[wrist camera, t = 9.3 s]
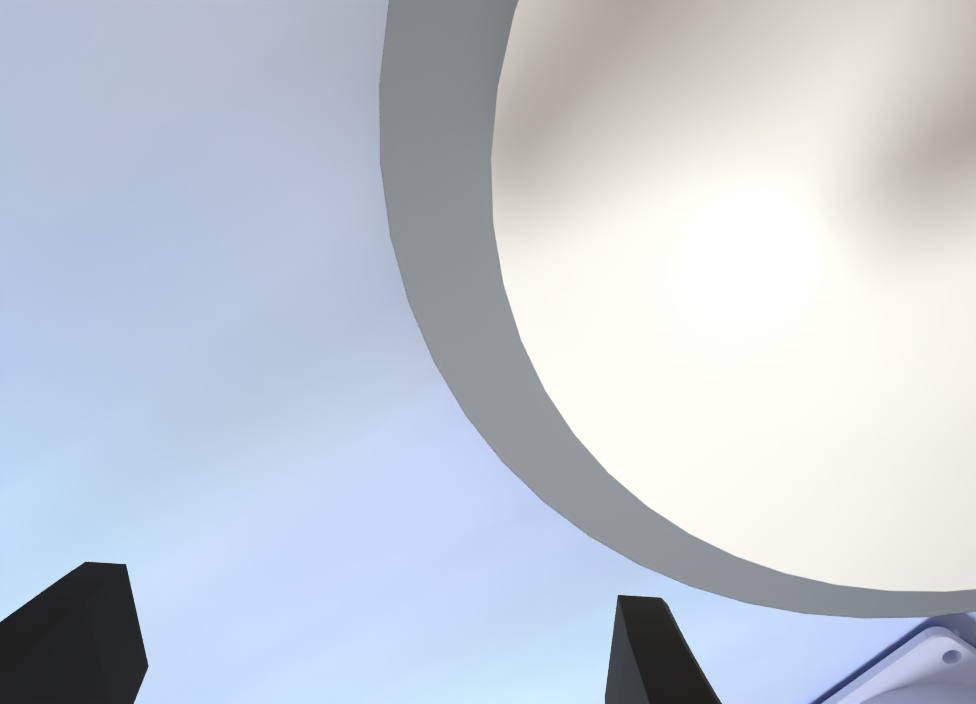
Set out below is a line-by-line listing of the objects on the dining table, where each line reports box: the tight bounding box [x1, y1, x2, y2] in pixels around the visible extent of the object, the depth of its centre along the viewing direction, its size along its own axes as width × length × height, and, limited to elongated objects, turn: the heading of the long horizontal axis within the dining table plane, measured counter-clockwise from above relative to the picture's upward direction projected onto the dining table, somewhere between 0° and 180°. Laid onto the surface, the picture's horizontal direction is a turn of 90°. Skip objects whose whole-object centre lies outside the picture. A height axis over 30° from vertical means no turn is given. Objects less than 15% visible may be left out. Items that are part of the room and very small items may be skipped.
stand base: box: [379, 0, 976, 618], centre depth 16 cm, size 25×25×1 cm
